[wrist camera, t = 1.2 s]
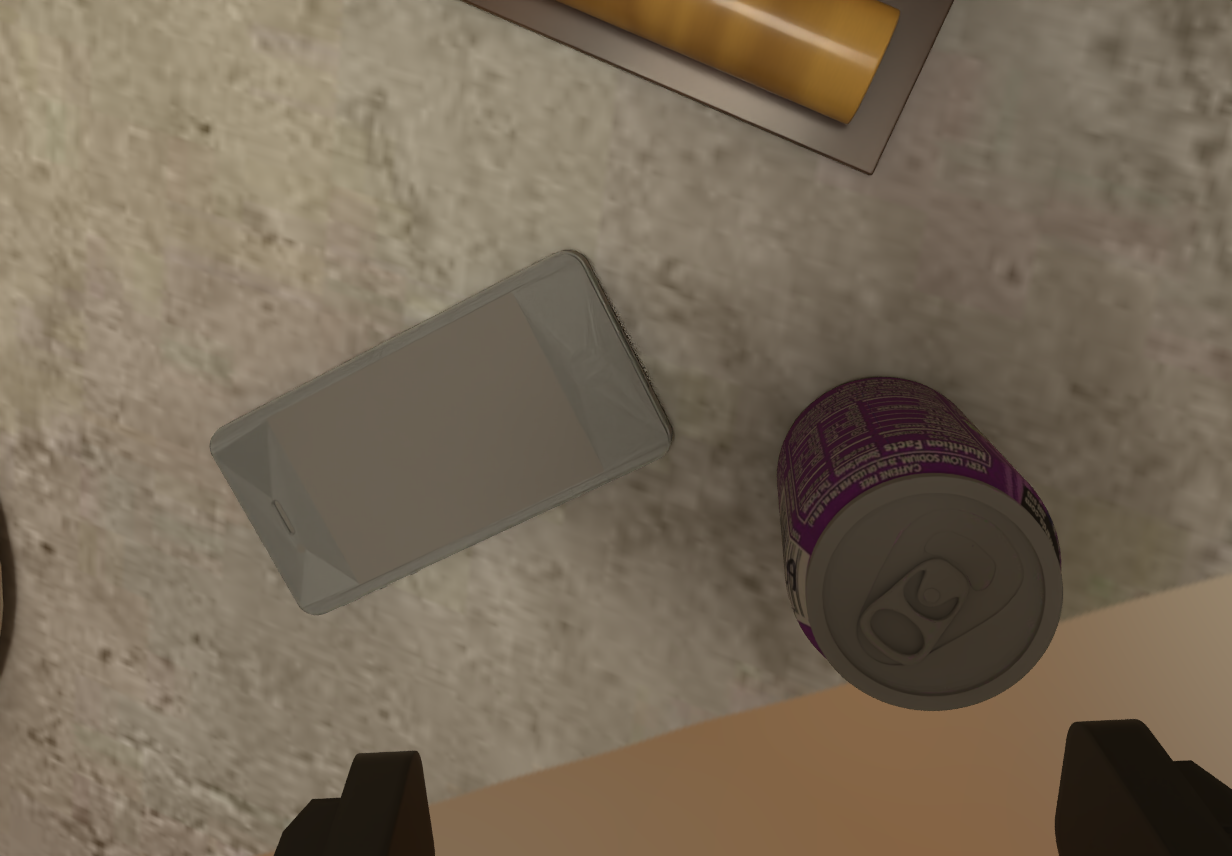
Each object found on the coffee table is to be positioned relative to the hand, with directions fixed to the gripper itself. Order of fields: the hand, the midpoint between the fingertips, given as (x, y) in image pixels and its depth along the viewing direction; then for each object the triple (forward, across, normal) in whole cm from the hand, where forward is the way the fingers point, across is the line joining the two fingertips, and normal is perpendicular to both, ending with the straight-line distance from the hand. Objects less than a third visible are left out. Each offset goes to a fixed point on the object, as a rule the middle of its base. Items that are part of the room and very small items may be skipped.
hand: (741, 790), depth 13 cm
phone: (+26, +8, +6) cm, 28 cm away
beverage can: (+24, -8, +7) cm, 26 cm away
